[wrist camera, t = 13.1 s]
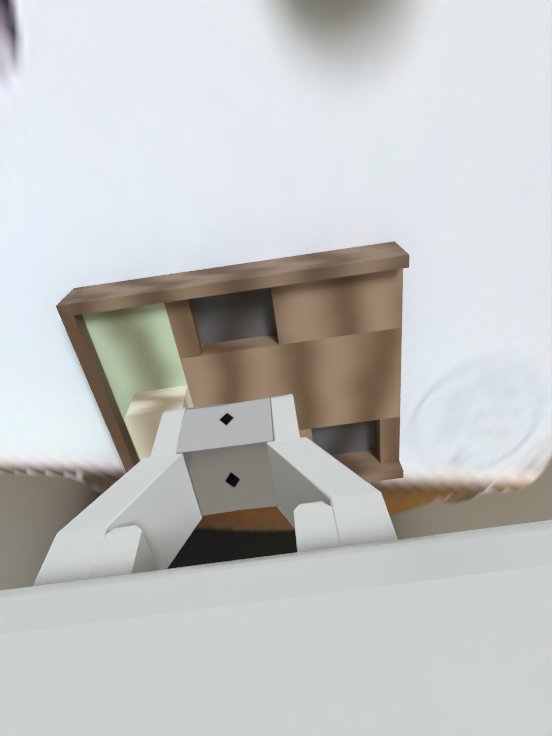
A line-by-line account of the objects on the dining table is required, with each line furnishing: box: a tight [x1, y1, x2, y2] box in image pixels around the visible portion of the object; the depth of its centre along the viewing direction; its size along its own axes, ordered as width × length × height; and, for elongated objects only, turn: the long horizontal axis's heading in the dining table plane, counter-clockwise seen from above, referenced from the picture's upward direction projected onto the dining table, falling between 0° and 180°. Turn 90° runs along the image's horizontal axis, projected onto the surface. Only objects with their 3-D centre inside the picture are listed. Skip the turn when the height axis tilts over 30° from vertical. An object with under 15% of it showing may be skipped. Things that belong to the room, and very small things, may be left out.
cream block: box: [124, 386, 193, 460], centre depth 40 cm, size 5×5×4 cm
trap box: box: [56, 242, 409, 482], centre depth 42 cm, size 28×24×4 cm
